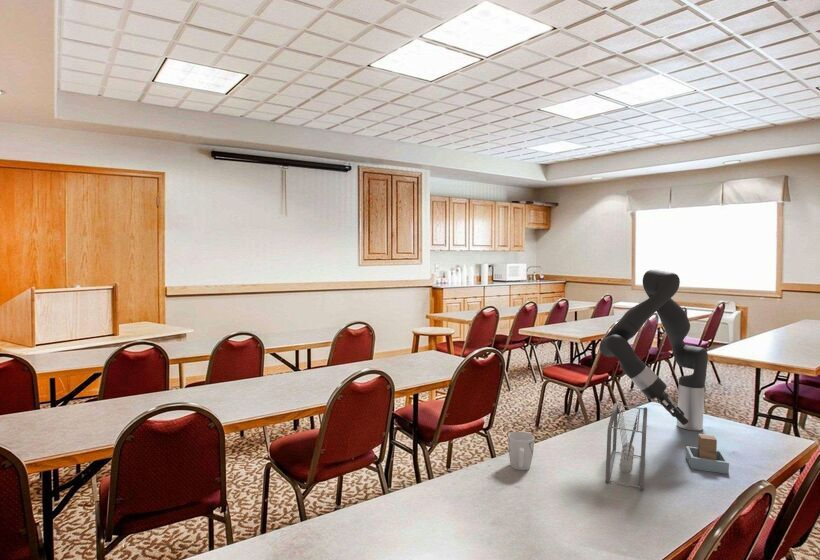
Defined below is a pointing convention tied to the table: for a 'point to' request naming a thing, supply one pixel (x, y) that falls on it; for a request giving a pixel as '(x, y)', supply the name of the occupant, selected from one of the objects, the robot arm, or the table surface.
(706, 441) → the block
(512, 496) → the table surface
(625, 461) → the newton's cradle
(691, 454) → the tray
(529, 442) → the mug
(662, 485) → the table surface
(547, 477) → the table surface
